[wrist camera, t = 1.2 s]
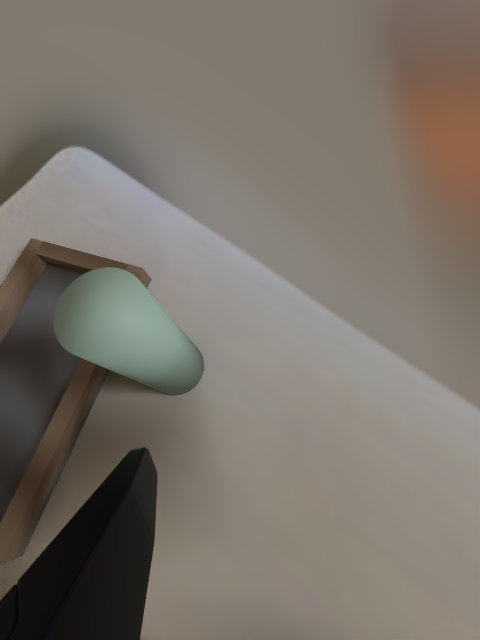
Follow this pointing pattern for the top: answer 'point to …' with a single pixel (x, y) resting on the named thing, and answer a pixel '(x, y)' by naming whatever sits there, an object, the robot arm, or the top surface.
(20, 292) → the brown wooden flat tray
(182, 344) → the post
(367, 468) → the top surface
